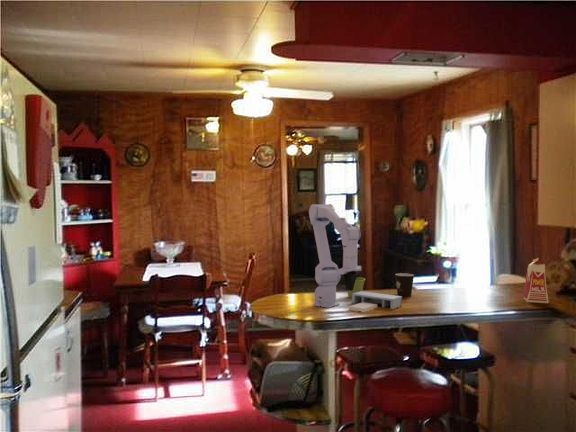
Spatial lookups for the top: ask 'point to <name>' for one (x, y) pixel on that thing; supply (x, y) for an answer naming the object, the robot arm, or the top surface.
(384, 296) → the shelf
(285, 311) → the top surface
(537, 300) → the milk carton
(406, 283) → the coffee mug
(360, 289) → the plant pot
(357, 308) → the tile
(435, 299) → the top surface
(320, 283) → the robot arm
